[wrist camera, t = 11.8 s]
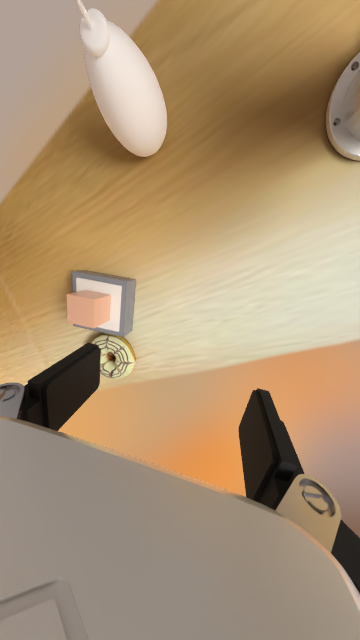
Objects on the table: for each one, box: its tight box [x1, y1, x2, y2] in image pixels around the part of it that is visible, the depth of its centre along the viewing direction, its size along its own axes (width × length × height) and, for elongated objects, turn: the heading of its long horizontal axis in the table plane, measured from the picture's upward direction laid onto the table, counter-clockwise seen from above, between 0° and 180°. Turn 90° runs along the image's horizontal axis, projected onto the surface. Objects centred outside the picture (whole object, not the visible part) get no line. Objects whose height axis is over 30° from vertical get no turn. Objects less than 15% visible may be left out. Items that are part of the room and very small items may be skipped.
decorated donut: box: [91, 333, 136, 379], centre depth 41 cm, size 10×11×4 cm
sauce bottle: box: [75, 0, 167, 157], centre depth 22 cm, size 8×8×18 cm
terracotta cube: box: [67, 290, 111, 328], centre depth 33 cm, size 5×5×5 cm
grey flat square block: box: [72, 271, 136, 337], centre depth 38 cm, size 11×11×4 cm
